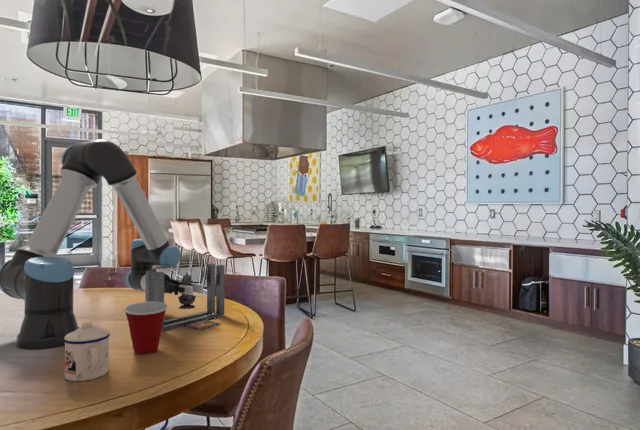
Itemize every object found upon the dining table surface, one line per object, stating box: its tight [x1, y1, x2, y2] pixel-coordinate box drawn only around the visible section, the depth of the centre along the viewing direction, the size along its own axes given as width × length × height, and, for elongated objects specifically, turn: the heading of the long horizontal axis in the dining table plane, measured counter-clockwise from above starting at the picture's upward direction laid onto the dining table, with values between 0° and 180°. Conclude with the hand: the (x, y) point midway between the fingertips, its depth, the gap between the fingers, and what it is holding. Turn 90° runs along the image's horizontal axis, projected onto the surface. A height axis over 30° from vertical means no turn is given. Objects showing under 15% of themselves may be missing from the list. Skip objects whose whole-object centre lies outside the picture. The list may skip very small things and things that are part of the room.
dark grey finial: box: [177, 272, 197, 310], centre depth 143 cm, size 6×6×12 cm
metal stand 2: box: [155, 264, 226, 332], centre depth 140 cm, size 2×26×18 cm, turn 143°
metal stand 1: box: [145, 263, 216, 325], centre depth 143 cm, size 2×26×18 cm, turn 143°
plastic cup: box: [123, 301, 169, 355], centre depth 110 cm, size 11×11×12 cm
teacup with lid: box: [64, 321, 111, 382], centre depth 93 cm, size 12×9×12 cm
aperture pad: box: [183, 319, 221, 330], centre depth 136 cm, size 8×8×1 cm
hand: (197, 289), depth 139 cm, fingers closed on dark grey finial, 4 cm apart
